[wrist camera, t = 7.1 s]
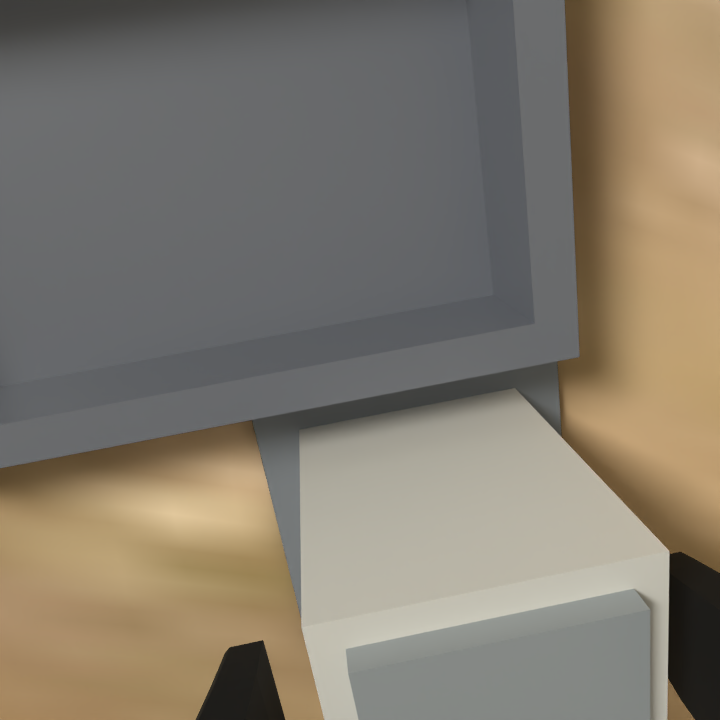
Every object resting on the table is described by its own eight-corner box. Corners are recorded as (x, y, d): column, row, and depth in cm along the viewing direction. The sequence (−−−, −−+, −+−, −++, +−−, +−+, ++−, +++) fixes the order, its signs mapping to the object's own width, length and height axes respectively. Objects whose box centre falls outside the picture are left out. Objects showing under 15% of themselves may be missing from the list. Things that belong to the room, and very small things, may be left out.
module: (529, 566, 15) (680, 831, 9) (337, 605, 15) (365, 903, 9) (514, 388, 14) (687, 570, 8) (299, 429, 13) (301, 651, 7)
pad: (565, 595, 16) (570, 603, 16) (310, 648, 16) (310, 657, 16) (551, 353, 14) (557, 357, 14) (252, 411, 14) (251, 416, 13)
